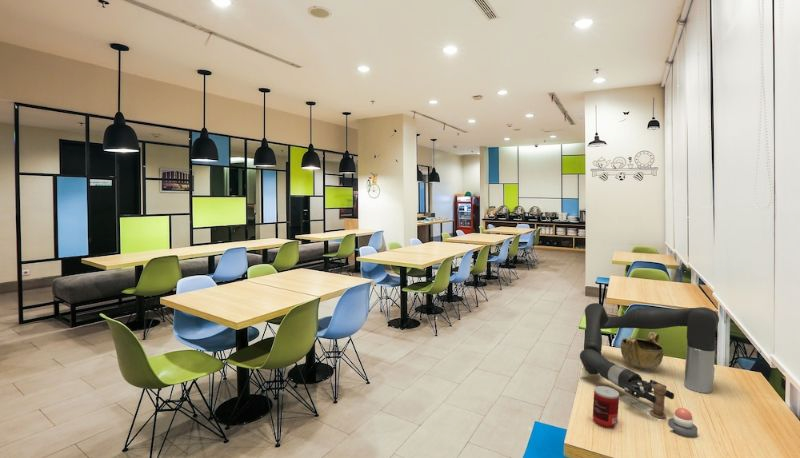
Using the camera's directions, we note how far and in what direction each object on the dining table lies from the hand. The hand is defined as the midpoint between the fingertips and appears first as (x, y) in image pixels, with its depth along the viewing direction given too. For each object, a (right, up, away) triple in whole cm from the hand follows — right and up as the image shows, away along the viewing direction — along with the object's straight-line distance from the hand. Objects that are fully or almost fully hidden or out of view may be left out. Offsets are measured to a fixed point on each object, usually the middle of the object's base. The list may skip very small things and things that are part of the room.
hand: (664, 398), depth 139 cm
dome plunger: (+3, -6, -5) cm, 8 cm away
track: (-3, -8, +8) cm, 11 cm away
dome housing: (+3, -9, -5) cm, 10 cm away
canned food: (-21, -8, -1) cm, 22 cm away
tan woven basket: (+20, -5, +47) cm, 51 cm away
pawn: (-1, -7, +2) cm, 7 cm away
